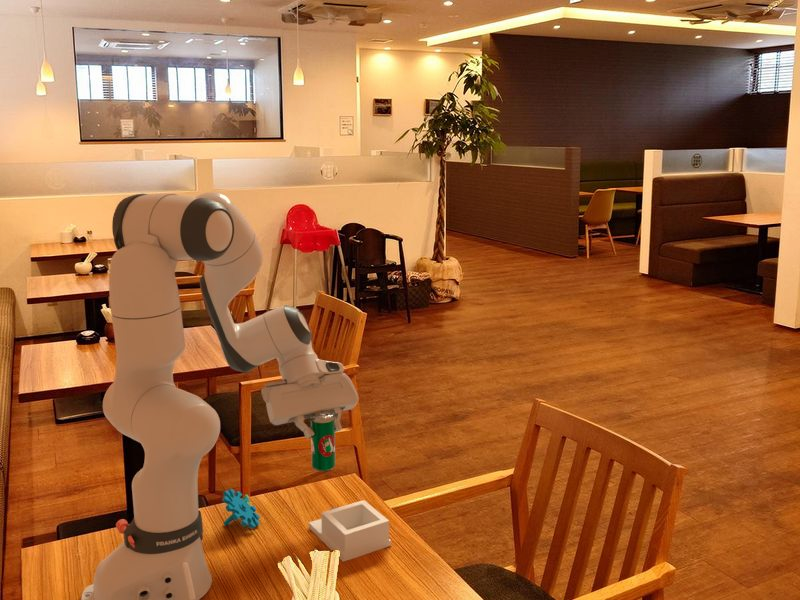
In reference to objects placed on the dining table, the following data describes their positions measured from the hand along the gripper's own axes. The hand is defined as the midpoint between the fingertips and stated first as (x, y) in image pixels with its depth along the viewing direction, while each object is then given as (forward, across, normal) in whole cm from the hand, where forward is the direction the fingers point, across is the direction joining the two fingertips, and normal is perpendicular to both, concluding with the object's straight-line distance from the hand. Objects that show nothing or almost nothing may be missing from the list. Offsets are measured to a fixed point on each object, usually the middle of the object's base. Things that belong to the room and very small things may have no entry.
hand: (324, 433), depth 162 cm
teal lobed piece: (+9, -16, +18) cm, 26 cm away
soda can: (+5, 0, +6) cm, 8 cm away
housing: (+21, 0, +6) cm, 22 cm away
